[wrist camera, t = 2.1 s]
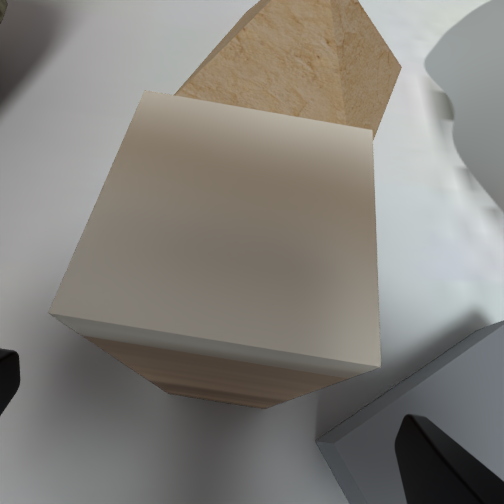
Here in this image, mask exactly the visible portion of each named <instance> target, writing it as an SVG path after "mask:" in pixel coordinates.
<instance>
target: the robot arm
mask: <svg viewBox="0 0 504 504" xmlns="http://www.w3.org/2000/svg"><path fill="white" fill-rule="evenodd" d="M19 385H20V365H19V355H18V353H17V352H16V351H14V350H8V349H1V348H0V416H1V414H2V413H3V411H4V410H5V408H6V407H7V405H8V404H9V402H10V401H11V399H12V398H13V397H14V395H15V394H16V392H17V390H18V388H19ZM394 448H395V454H396V459H397V463H398V467H399V472H400V476H401V480H402V485H403V489H404V493H405V498H406V502H407V504H504V481H503V480H502V479H501V478H499V477H498V476H497V475H496V474H495V473H493V472H492V471H491V470H490V469H488V468H487V467H486V466H485V465H484V464H482V463H481V462H480V461H479V460H478V459H476V458H475V457H474V456H473V455H472V454H470V453H469V452H468V451H467V450H466V449H464V448H463V447H462V446H461V445H459V444H458V443H457V442H456V441H455V440H453V439H452V438H451V437H450V436H449V435H447V434H446V433H445V432H444V431H443V430H441V429H440V428H439V427H438V426H437V425H435V424H434V423H433V422H432V421H430V420H429V419H428V418H427V417H425V416H423V415H417V414H411V413H409V414H406V415H405V416H404V418H403V420H402V423H401V425H400V428H399V431H398V433H397V436H396V439H395V444H394Z"/></svg>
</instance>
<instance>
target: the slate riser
mask: <svg viewBox="0 0 504 504" xmlns="http://www.w3.org/2000/svg"><path fill="white" fill-rule="evenodd" d="M409 413H411V414H417V415H423V416H425V417H427V418H428V419H429V420H430V421H432V422H433V423H434V424H435V425H437V426H438V427H439V428H440V429H441V430H443V431H444V432H445V433H446V434H447V435H449V436H450V437H451V438H452V439H453V440H455V441H456V442H457V443H458V444H459V445H461V446H462V447H463V448H464V449H466V450H467V451H468V452H469V453H470V454H472V455H473V456H474V457H475V458H476V459H478V460H479V461H480V462H481V463H482V464H484V465H485V466H486V467H487V468H488V469H490V470H491V471H492V472H493V473H495V474H496V475H497V476H498V477H499V478H501V479H502V480H503V481H504V321H501V322H498V323H495V324H493V325H490V326H487V327H485V328H482V329H479V330H477V331H475V332H474V333H473V334H471V335H470V336H468V337H467V338H465V339H464V340H462V341H461V342H459V343H458V344H456V345H455V346H454V347H452V348H451V349H449V350H448V351H446V352H445V353H443V354H442V355H440V356H439V357H437V358H436V359H435V360H433V361H432V362H430V363H429V364H427V365H426V366H424V367H423V368H421V369H420V370H418V371H417V372H416V373H414V374H413V375H411V376H410V377H408V378H407V379H405V380H404V381H402V382H401V383H399V384H398V385H397V386H395V387H394V388H392V389H391V390H389V391H388V392H386V393H385V394H383V395H382V396H380V397H379V398H378V399H376V400H375V401H373V402H372V403H370V404H369V405H367V406H366V407H364V408H363V409H361V410H360V411H359V412H357V413H356V414H354V415H353V416H351V417H350V418H348V419H347V420H345V421H344V422H342V423H341V424H340V425H338V426H337V427H335V428H334V429H332V430H331V431H329V432H328V433H326V434H325V435H323V436H322V437H321V438H319V439H318V440H316V441H315V442H316V443H317V445H318V447H319V449H320V451H321V452H322V454H323V456H324V458H325V460H326V461H327V463H328V465H329V467H330V469H331V471H332V472H333V474H334V476H335V478H336V480H337V481H338V483H339V485H340V487H341V489H342V490H343V492H344V494H345V496H346V498H347V500H348V501H349V503H350V504H407V502H406V498H405V493H404V489H403V485H402V480H401V476H400V472H399V467H398V463H397V459H396V454H395V448H394V444H395V439H396V436H397V433H398V431H399V428H400V425H401V423H402V420H403V418H404V416H405V415H406V414H409Z"/></svg>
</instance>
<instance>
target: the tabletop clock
mask: <svg viewBox="0 0 504 504" xmlns="http://www.w3.org/2000/svg"><path fill="white" fill-rule="evenodd" d="M6 8H7V2H6V0H0V23H1V21H2V20H3V17H4V14H5V11H6Z"/></svg>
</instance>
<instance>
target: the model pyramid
mask: <svg viewBox="0 0 504 504" xmlns="http://www.w3.org/2000/svg"><path fill="white" fill-rule="evenodd" d="M401 68H402V67H401V65H400V64H399V62H398V61H397V59H396V58H395V56H394V55H393V53H392V52H391V50H390V49H389V47H388V46H387V44H386V43H385V41H384V39H383V38H382V36H381V35H380V33H379V32H378V30H377V29H376V27H375V26H374V24H373V23H372V21H371V20H370V18H369V17H368V15H367V14H366V12H365V11H364V9H363V8H362V6H361V5H360V3H359V1H358V0H260V1H259V2H258V3H257V4H255V5H254V6H253V7H252V8H251V9H249V10H248V11H247V12H246V13H245V14H244V15H243V17H242V18H241V19H240V20H239V21H238V22H237V23H236V25H235V26H234V27H233V28H232V29H231V30H230V31H229V33H228V34H227V35H226V36H225V37H224V38H223V39H222V41H221V42H220V43H219V44H218V45H217V46H216V47H215V49H214V50H213V51H212V52H211V53H210V54H209V55H208V57H207V58H206V59H205V60H204V61H203V62H202V64H201V65H200V66H199V67H198V68H197V69H196V70H195V72H194V73H193V74H192V75H191V76H190V77H189V78H188V80H187V81H186V82H185V83H184V84H183V85H182V86H181V88H180V89H179V90H178V91H177V92H176V93H175V94H174V95H175V96H181V97H186V98H192V99H198V100H203V101H209V102H215V103H221V104H226V105H232V106H238V107H243V108H249V109H255V110H261V111H266V112H272V113H278V114H283V115H289V116H295V117H301V118H306V119H312V120H318V121H323V122H329V123H335V124H341V125H346V126H352V127H358V128H363V129H369V130H372V132H373V140H374V137H375V135H376V132H377V130H378V127H379V124H380V122H381V119H382V117H383V114H384V112H385V109H386V106H387V104H388V101H389V99H390V96H391V93H392V91H393V88H394V86H395V83H396V81H397V78H398V75H399V73H400V70H401Z"/></svg>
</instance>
